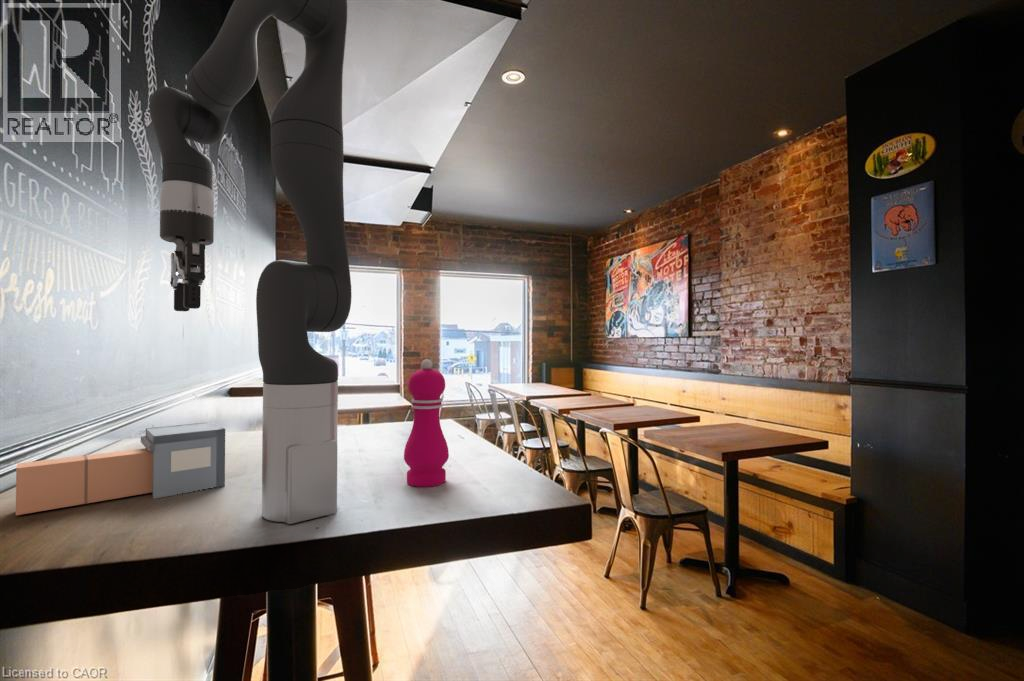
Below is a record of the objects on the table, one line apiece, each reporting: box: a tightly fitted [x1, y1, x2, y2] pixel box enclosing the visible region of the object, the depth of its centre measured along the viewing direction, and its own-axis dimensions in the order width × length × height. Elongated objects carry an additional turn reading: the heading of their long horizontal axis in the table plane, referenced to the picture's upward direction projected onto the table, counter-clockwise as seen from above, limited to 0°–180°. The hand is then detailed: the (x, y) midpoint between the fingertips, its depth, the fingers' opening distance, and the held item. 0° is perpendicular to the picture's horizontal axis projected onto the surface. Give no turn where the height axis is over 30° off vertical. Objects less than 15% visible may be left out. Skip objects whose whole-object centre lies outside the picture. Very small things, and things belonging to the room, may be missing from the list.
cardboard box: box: [15, 447, 153, 516], centre depth 68 cm, size 4×15×6 cm, turn 134°
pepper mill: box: [403, 358, 450, 488], centre depth 78 cm, size 7×7×20 cm
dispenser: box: [140, 421, 226, 499], centre depth 75 cm, size 9×10×9 cm
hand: (186, 309), depth 80 cm, fingers open, 8 cm apart
